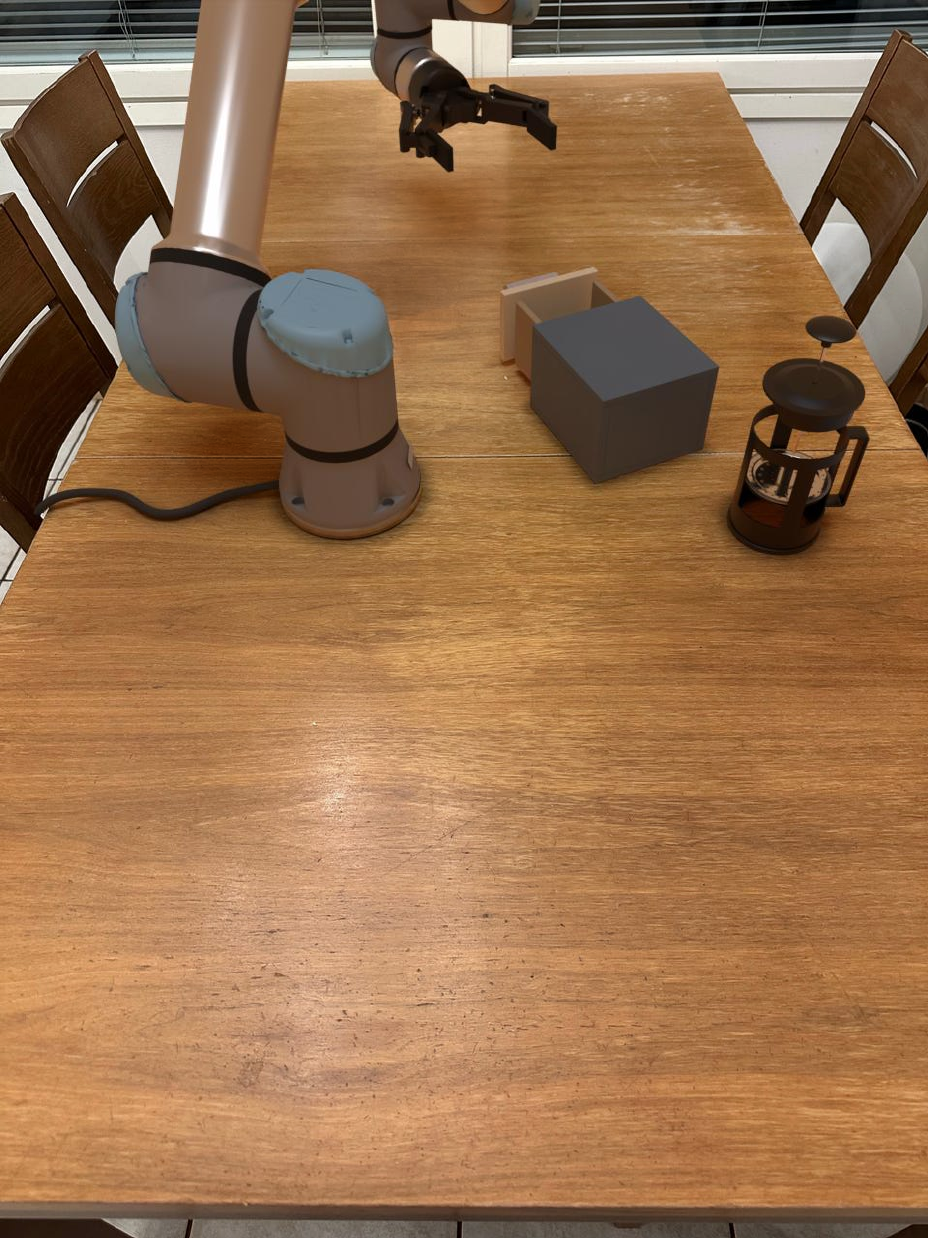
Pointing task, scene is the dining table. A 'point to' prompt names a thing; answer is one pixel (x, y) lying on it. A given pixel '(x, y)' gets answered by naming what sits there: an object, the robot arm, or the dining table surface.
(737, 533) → the french press
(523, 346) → the drawer
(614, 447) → the cabinet
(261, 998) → the dining table surface
